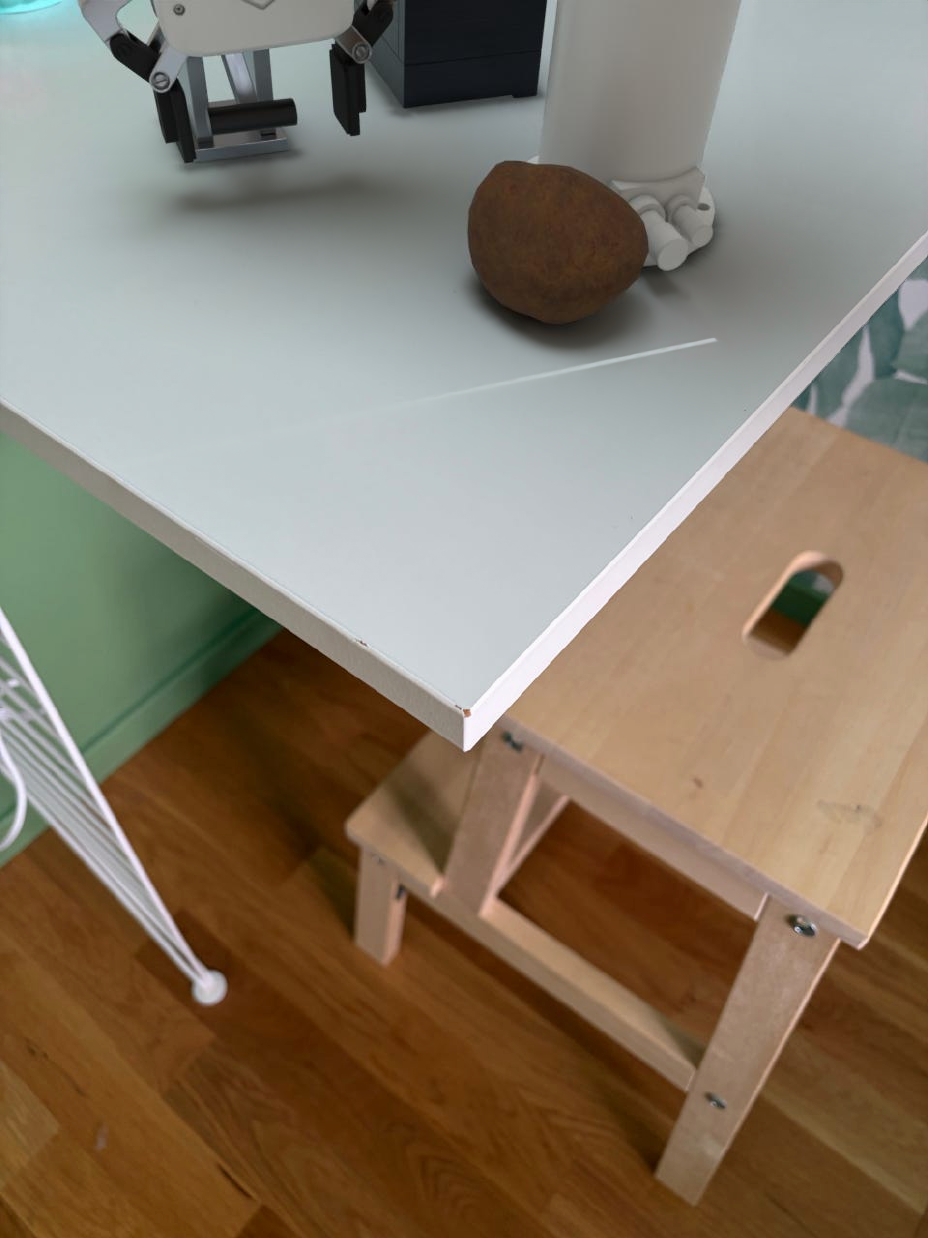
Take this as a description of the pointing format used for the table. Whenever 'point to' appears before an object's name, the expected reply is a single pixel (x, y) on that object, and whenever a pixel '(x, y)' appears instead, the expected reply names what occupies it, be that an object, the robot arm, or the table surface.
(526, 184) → the potato
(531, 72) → the toaster
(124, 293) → the table surface
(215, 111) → the lever
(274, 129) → the lever bracket
